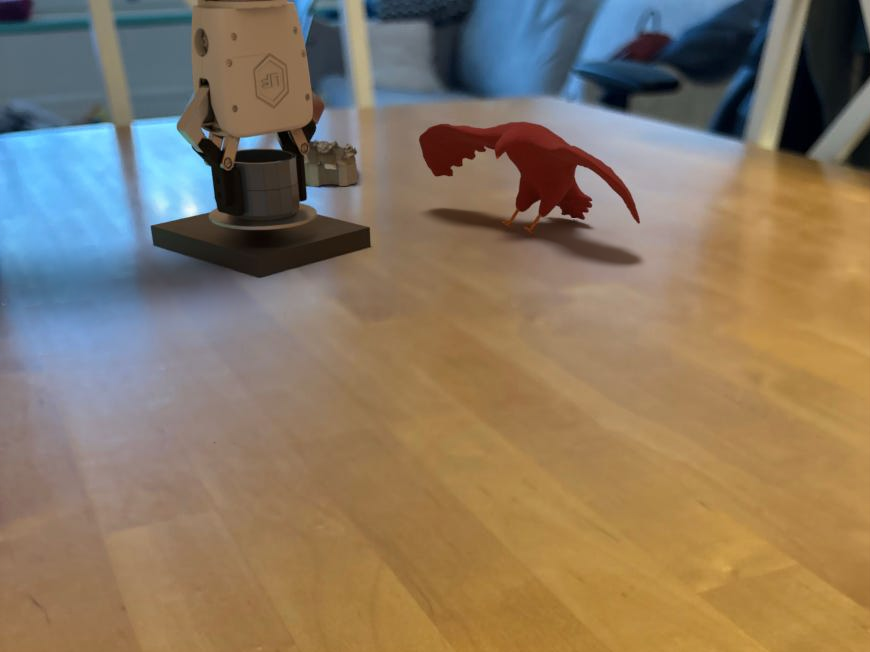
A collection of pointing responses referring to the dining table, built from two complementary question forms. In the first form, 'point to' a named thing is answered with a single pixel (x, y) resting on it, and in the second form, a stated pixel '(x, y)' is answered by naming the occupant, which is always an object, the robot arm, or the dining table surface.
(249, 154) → the cylindrical container
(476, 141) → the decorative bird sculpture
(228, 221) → the grey round platter
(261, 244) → the scale
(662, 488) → the dining table surface
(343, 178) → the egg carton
